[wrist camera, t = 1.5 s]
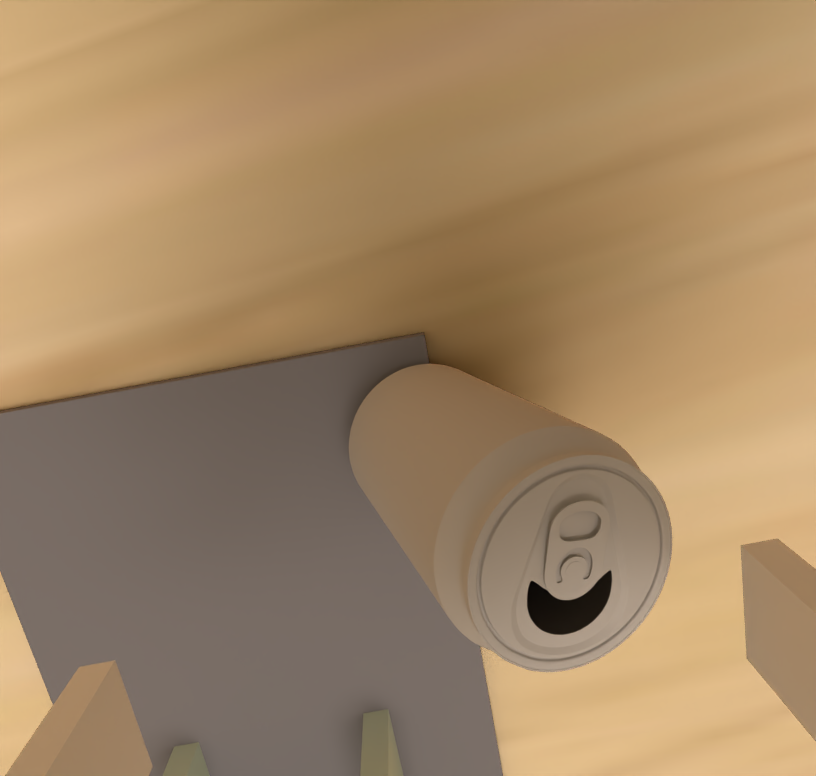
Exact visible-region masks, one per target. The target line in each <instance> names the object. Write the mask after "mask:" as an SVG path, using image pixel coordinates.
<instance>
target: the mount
mask: <svg viewBox="0 0 816 776" xmlns="http://www.w3.org/2000/svg"><path fill="white" fill-rule="evenodd" d="M421 364H429V358H428V352H427V347H426V341H425V336H424V332H423V333H417V334H412V335H406V336H401V337H396V338H390V339H385V340H379V341H374V342H369V343H363V344H358V345H353V346H347V347H342V348H336V349H331V350H326V351H320V352H315V353H309V354H304V355H299V356H293V357H288V358H283V359H277V360H272V361H266V362H261V363H256V364H250V365H245V366H239V367H234V368H229V369H223V370H218V371H212V372H207V373H202V374H196V375H191V376H186V377H180V378H175V379H169V380H164V381H159V382H153V383H148V384H142V385H137V386H132V387H126V388H121V389H116V390H110V391H105V392H99V393H94V394H89V395H83V396H78V397H72V398H67V399H62V400H56V401H51V402H45V403H40V404H35V405H29V406H24V407H19V408H13V409H8V410H2V411H0V572H1V574H2V577H3V579H4V582H5V584H6V587H7V589H8V592H9V595H10V597H11V600H12V602H13V605H14V607H15V610H16V612H17V615H18V617H19V620H20V622H21V625H22V627H23V630H24V632H25V635H26V638H27V640H28V643H29V645H30V648H31V650H32V653H33V655H34V658H35V660H36V663H37V665H38V668H39V670H40V673H41V676H42V678H43V681H44V683H45V686H46V688H47V691H48V693H49V696H50V698H51V701H52V703H53V705H54V703H55V702H56V700H57V699H58V697H59V696H60V694H61V693H62V691H63V690H64V688H65V687H66V685H67V684H68V682H69V681H70V680H71V678H72V677H73V675H74V674H75V672H76V671H77V669H78V668H79V667H81V666H87V665H92V664H98V663H103V662H109V661H114V660H115V661H116V664H117V667H118V670H119V672H120V675H121V678H122V681H123V684H124V687H125V689H126V692H127V695H128V698H129V701H130V704H131V706H132V709H133V712H134V715H135V718H136V720H137V723H138V726H139V729H140V732H141V735H142V737H143V740H144V743H145V746H146V749H147V752H148V754H149V757H150V760H151V763H152V766H153V767H152V769H151V772H150V774H149V776H503V774H502V768H501V762H500V757H499V751H498V745H497V740H496V734H495V729H494V723H493V717H492V712H491V706H490V701H489V695H488V689H487V684H486V678H485V672H484V667H483V661H482V656H481V650H480V646H479V645H477V644H475V643H474V642H472V641H471V640H469V639H468V638H467V637H466V636H465V635H463V634H462V633H461V632H460V631H459V630H458V629H457V628H456V627H455V625H454V624H453V623H452V621H451V620H450V619H449V617H448V616H447V614H446V613H445V611H444V610H443V608H442V607H441V605H440V604H439V603H438V601H437V600H436V598H435V597H434V595H433V594H432V592H431V591H430V589H429V588H428V586H427V585H426V583H425V582H424V580H423V579H422V577H421V576H420V574H419V573H418V571H417V570H416V569H415V567H414V566H413V564H412V563H411V561H410V560H409V558H408V557H407V555H406V554H405V552H404V551H403V549H402V548H401V546H400V545H399V543H398V542H397V540H396V539H395V538H394V536H393V535H392V533H391V532H390V530H389V529H388V527H387V526H386V524H385V523H384V521H383V520H382V518H381V517H380V515H379V514H378V512H377V511H376V509H375V508H374V507H373V505H372V504H371V502H370V501H369V499H368V498H367V496H366V495H365V493H364V492H363V490H362V489H361V487H360V486H359V484H358V482H357V480H356V478H355V476H354V474H353V471H352V467H351V463H350V458H349V437H350V431H351V427H352V423H353V420H354V417H355V415H356V413H357V411H358V409H359V407H360V405H361V404H362V402H363V400H364V399H365V398H366V396H367V395H368V394H369V393H370V392H371V391H372V389H373V388H374V387H375V386H377V385H378V384H379V383H380V382H381V381H383V380H384V379H385V378H387V377H388V376H390V375H392V374H393V373H395V372H397V371H399V370H402V369H404V368H407V367H411V366H414V365H421Z"/></svg>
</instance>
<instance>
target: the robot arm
mask: <svg viewBox="0 0 816 776" xmlns="http://www.w3.org/2000/svg"><path fill="white" fill-rule="evenodd" d="M741 560H742V579H743V598H744V617H745V636H746V655H747V659H748V661H749V662H750V663H751V664H752V665H753V667H754V668H755V669H756V670H757V671H758V673H759V674H760V675H761V676H762V677H763V679H764V680H765V681H766V682H767V683H768V685H769V686H770V687H771V688H772V689H773V691H774V692H775V693H776V694H777V695H778V697H779V698H780V699H781V700H782V701H783V703H784V704H785V705H786V706H787V707H788V709H789V710H790V711H791V712H792V713H793V715H794V716H795V717H796V718H797V719H798V721H799V722H800V723H801V724H802V725H803V727H804V728H805V729H806V730H807V731H808V733H809V734H810V735H811V736H812V738H813V739H814V740H815V741H816V569H815V568H813V567H812V566H811V565H810V564H809V563H807V562H806V561H805V560H804V559H802V558H801V557H800V556H799V555H797V554H796V553H795V552H794V551H792V550H791V549H790V548H789V547H787V546H786V545H785V544H784V543H782V542H781V541H780V540H779V539H773V540H767V541H762V542H756V543H751V544H745V545H741ZM152 767H153V766H152V763H151V760H150V757H149V754H148V752H147V749H146V746H145V743H144V740H143V737H142V735H141V732H140V729H139V726H138V723H137V720H136V718H135V715H134V712H133V709H132V706H131V704H130V701H129V698H128V695H127V692H126V689H125V687H124V684H123V681H122V678H121V675H120V672H119V670H118V667H117V664H116V661H115V660H114V661H109V662H103V663H98V664H92V665H87V666H81V667H79V668H78V669H77V671H76V672H75V674H74V675H73V677H72V678H71V680H70V681H69V682H68V684H67V685H66V687H65V688H64V690H63V691H62V693H61V694H60V696H59V697H58V699H57V700H56V702H55V703H54V705H53V706H52V707H51V709H50V710H49V712H48V713H47V715H46V716H45V718H44V719H43V721H42V722H41V724H40V725H39V727H38V728H37V730H36V731H35V732H34V734H33V735H32V737H31V738H30V740H29V741H28V743H27V744H26V746H25V747H24V749H23V750H22V752H21V753H20V755H19V756H18V757H17V759H16V760H15V762H14V763H13V765H12V766H11V768H10V769H9V771H8V772H7V774H6V775H5V776H149V774H150V772H151V769H152Z"/></svg>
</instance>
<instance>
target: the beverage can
mask: <svg viewBox="0 0 816 776" xmlns="http://www.w3.org/2000/svg"><path fill="white" fill-rule="evenodd" d="M349 458H350V463H351V467H352V471H353V474H354V476H355V478H356V480H357V482H358V484H359V486H360V487H361V489H362V490H363V492H364V493H365V495H366V496H367V498H368V499H369V501H370V502H371V504H372V505H373V507H374V508H375V509H376V511H377V512H378V514H379V515H380V517H381V518H382V520H383V521H384V523H385V524H386V526H387V527H388V529H389V530H390V532H391V533H392V535H393V536H394V538H395V539H396V540H397V542H398V543H399V545H400V546H401V548H402V549H403V551H404V552H405V554H406V555H407V557H408V558H409V560H410V561H411V563H412V564H413V566H414V567H415V569H416V570H417V571H418V573H419V574H420V576H421V577H422V579H423V580H424V582H425V583H426V585H427V586H428V588H429V589H430V591H431V592H432V594H433V595H434V597H435V598H436V600H437V601H438V603H439V604H440V605H441V607H442V608H443V610H444V611H445V613H446V614H447V616H448V617H449V619H450V620H451V621H452V623H453V624H454V625H455V627H456V628H457V629H458V630H459V631H460V632H461V633H462V634H463V635H465V636H466V637H467V638H468V639H469V640H471V641H472V642H474V643H475V644H477V645H479V646H481V647H484V648H486V649H488V650H491V651H494V652H495V653H496V654H497V655H498V656H499V657H501V658H502V659H504V660H505V661H507V662H509V663H512V664H514V665H516V666H519V667H522V668H524V669H527V670H531V671H539V672H558V671H566V670H570V669H574V668H578V667H581V666H584V665H586V664H589V663H591V662H593V661H596V660H598V659H600V658H601V657H603V656H605V655H606V654H608V653H609V652H611V651H612V650H614V649H615V648H617V647H618V646H619V645H620V644H621V643H623V642H624V641H625V640H626V639H627V638H628V637H629V636H630V635H631V634H632V633H633V632H634V631H635V630H636V629H637V628H638V627H639V626H640V624H641V623H642V622H643V621H644V619H645V618H646V617H647V615H648V614H649V612H650V611H651V609H652V608H653V606H654V604H655V603H656V601H657V599H658V597H659V595H660V593H661V590H662V588H663V586H664V583H665V580H666V577H667V574H668V570H669V565H670V560H671V554H672V529H671V522H670V517H669V513H668V510H667V507H666V504H665V502H664V500H663V498H662V496H661V494H660V492H659V491H658V489H657V488H656V486H655V485H654V484H653V482H652V481H651V480H650V479H649V478H648V477H647V476H646V475H645V474H644V473H642V472H641V470H640V469H639V467H638V465H637V464H636V462H635V461H634V460H633V458H632V457H631V456H630V455H629V454H628V453H627V452H626V451H625V450H624V449H623V448H622V447H621V446H620V445H619V444H617V443H616V442H614V441H613V440H612V439H610V438H608V437H606V436H605V435H603V434H601V433H598V432H596V431H594V430H592V429H589V428H587V427H585V426H583V425H581V424H578V423H576V422H574V421H572V420H569V419H567V418H565V417H563V416H561V415H558V414H556V413H554V412H552V411H549V410H547V409H545V408H543V407H541V406H538V405H536V404H534V403H532V402H529V401H527V400H525V399H523V398H521V397H518V396H516V395H514V394H512V393H509V392H507V391H505V390H503V389H501V388H498V387H496V386H494V385H492V384H489V383H487V382H485V381H483V380H481V379H478V378H476V377H474V376H472V375H469V374H467V373H465V372H463V371H461V370H458V369H456V368H453V367H450V366H446V365H440V364H421V365H414V366H411V367H407V368H404V369H402V370H399V371H397V372H395V373H393V374H392V375H390V376H388V377H387V378H385V379H384V380H383V381H381V382H380V383H379V384H378V385H377V386H375V387H374V388H373V389H372V391H371V392H370V393H369V394H368V395H367V396H366V398H365V399H364V400H363V402H362V404H361V405H360V407H359V409H358V411H357V413H356V415H355V417H354V420H353V423H352V427H351V431H350V437H349Z"/></svg>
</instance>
